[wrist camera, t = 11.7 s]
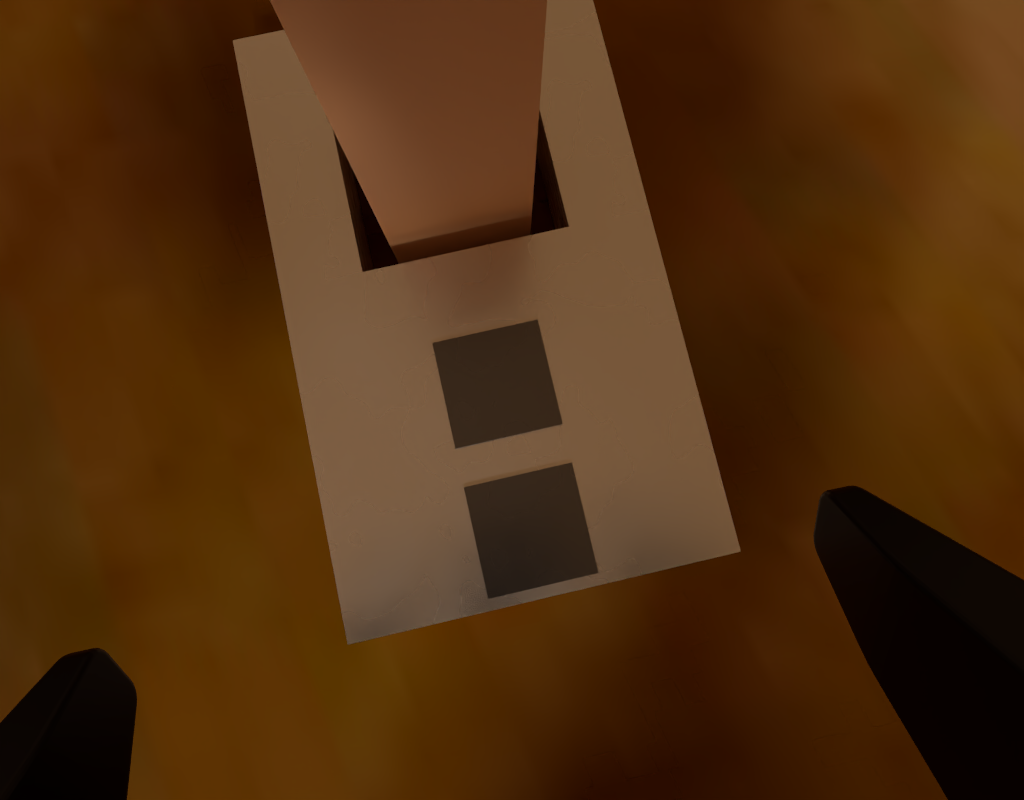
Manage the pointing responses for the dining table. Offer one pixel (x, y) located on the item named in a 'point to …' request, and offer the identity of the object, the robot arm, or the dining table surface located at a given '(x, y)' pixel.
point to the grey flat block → (488, 366)
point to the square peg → (430, 111)
